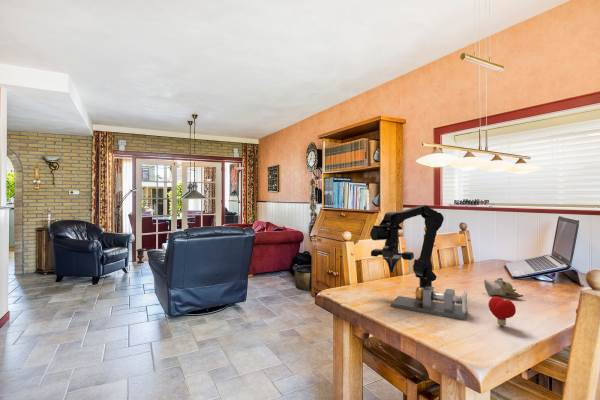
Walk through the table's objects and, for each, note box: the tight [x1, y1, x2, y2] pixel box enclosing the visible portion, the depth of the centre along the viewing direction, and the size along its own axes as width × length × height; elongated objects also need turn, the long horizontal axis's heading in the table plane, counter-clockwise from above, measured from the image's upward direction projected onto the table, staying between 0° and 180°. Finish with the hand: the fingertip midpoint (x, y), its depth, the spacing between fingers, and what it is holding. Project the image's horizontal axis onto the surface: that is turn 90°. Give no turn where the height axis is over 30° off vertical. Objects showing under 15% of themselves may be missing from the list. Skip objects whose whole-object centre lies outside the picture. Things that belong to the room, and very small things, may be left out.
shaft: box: [415, 286, 462, 306], centre depth 133 cm, size 6×17×6 cm, turn 58°
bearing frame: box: [390, 286, 468, 321], centre depth 136 cm, size 12×28×8 cm, turn 58°
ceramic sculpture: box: [483, 278, 524, 299], centre depth 153 cm, size 11×9×15 cm
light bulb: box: [487, 296, 517, 327], centre depth 118 cm, size 9×7×10 cm
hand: (391, 272), depth 153 cm, fingers closed
